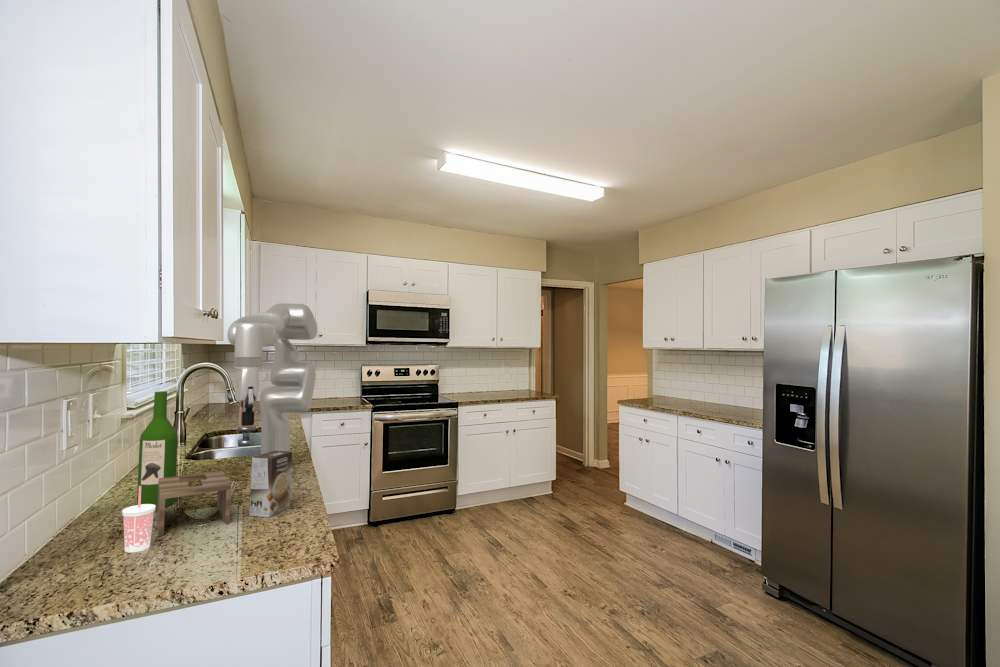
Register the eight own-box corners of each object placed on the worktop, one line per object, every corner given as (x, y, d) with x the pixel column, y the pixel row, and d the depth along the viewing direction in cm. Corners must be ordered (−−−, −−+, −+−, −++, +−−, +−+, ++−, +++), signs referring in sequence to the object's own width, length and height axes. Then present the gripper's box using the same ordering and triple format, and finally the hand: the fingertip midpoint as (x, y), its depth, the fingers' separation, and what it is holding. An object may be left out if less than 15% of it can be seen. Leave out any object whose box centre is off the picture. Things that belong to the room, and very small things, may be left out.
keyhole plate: (157, 515, 128) (158, 478, 128) (221, 505, 137) (222, 470, 137) (158, 536, 114) (160, 494, 114) (229, 523, 123) (230, 484, 123)
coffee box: (269, 518, 127) (271, 458, 128) (248, 516, 129) (250, 456, 129) (291, 507, 136) (292, 451, 137) (271, 505, 138) (273, 449, 138)
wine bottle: (132, 512, 130) (137, 393, 131) (141, 502, 138) (146, 390, 139) (171, 508, 134) (175, 392, 135) (178, 498, 142) (182, 390, 143)
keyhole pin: (235, 444, 143) (236, 405, 143) (253, 442, 146) (254, 404, 146) (237, 447, 139) (239, 407, 139) (256, 445, 142) (257, 406, 142)
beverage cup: (157, 541, 111) (160, 481, 112) (148, 552, 105) (151, 488, 106) (126, 544, 109) (129, 483, 110) (115, 555, 103) (118, 491, 104)
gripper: (230, 362, 147) (228, 421, 147) (238, 364, 134) (236, 429, 133) (257, 362, 152) (255, 419, 151) (267, 364, 138) (265, 427, 138)
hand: (246, 423), depth 142 cm, fingers closed on keyhole pin, 3 cm apart
